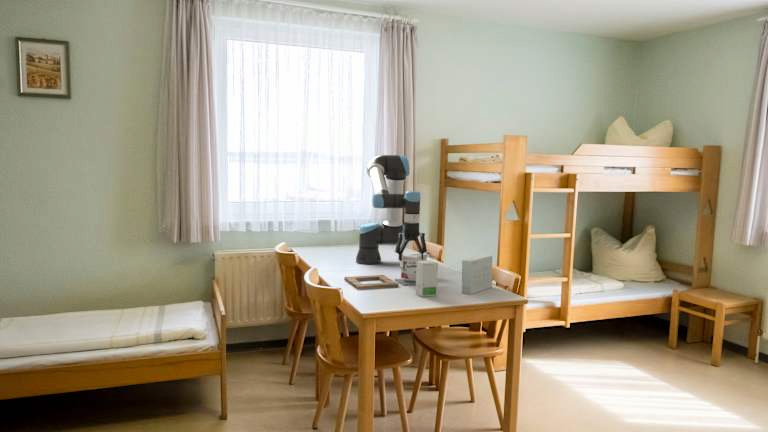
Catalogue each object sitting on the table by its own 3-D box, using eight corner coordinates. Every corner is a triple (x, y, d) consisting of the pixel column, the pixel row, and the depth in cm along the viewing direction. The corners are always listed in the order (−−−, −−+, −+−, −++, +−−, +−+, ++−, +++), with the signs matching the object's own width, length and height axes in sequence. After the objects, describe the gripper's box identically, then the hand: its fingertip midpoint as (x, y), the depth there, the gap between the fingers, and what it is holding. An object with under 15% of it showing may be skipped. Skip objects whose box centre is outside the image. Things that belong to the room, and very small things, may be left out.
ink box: (400, 278, 271) (401, 255, 270) (403, 276, 275) (404, 253, 274) (416, 280, 268) (417, 256, 267) (419, 278, 273) (420, 255, 271)
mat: (394, 280, 275) (394, 279, 275) (416, 279, 280) (416, 277, 280) (403, 285, 264) (403, 284, 264) (425, 284, 268) (425, 283, 268)
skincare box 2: (482, 285, 269) (483, 254, 268) (492, 287, 266) (493, 255, 264) (460, 292, 253) (461, 259, 251) (470, 295, 250) (472, 261, 248)
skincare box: (421, 297, 243) (422, 263, 241) (414, 293, 249) (415, 260, 247) (437, 295, 246) (438, 262, 245) (430, 292, 252) (431, 259, 251)
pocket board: (344, 279, 274) (344, 277, 273) (383, 277, 281) (383, 274, 281) (357, 289, 254) (357, 286, 254) (398, 286, 262) (398, 283, 261)
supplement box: (425, 278, 281) (425, 254, 280) (411, 277, 283) (411, 253, 281) (426, 275, 289) (427, 252, 287) (413, 274, 290) (413, 251, 289)
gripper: (394, 223, 261) (393, 269, 264) (435, 222, 269) (433, 266, 272) (388, 221, 268) (387, 266, 271) (428, 220, 276) (426, 264, 278)
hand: (410, 266), depth 271 cm, fingers closed on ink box, 9 cm apart
